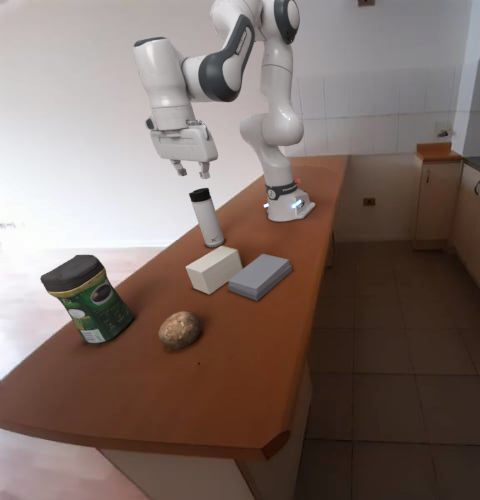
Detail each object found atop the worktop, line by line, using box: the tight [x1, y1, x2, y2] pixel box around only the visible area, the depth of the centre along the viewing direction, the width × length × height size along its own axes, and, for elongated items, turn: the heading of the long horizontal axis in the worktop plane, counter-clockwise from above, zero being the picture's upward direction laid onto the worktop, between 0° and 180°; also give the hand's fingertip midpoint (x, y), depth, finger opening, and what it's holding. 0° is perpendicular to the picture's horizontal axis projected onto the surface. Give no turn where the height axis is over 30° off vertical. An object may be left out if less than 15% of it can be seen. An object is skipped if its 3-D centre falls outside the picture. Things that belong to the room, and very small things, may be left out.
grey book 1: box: [227, 253, 291, 294], centre depth 76 cm, size 14×10×2 cm, turn 154°
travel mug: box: [188, 187, 225, 248], centre depth 94 cm, size 6×7×20 cm
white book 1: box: [187, 256, 242, 287], centre depth 78 cm, size 12×6×2 cm, turn 151°
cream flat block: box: [185, 245, 240, 280], centre depth 77 cm, size 12×6×2 cm, turn 151°
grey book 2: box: [227, 264, 293, 302], centre depth 77 cm, size 15×10×2 cm, turn 151°
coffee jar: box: [40, 254, 134, 344], centre depth 60 cm, size 10×8×19 cm
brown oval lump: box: [157, 310, 202, 350], centre depth 60 cm, size 8×8×6 cm
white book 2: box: [190, 263, 244, 295], centre depth 79 cm, size 12×6×2 cm, turn 151°
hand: (194, 177), depth 74 cm, fingers open, 8 cm apart
